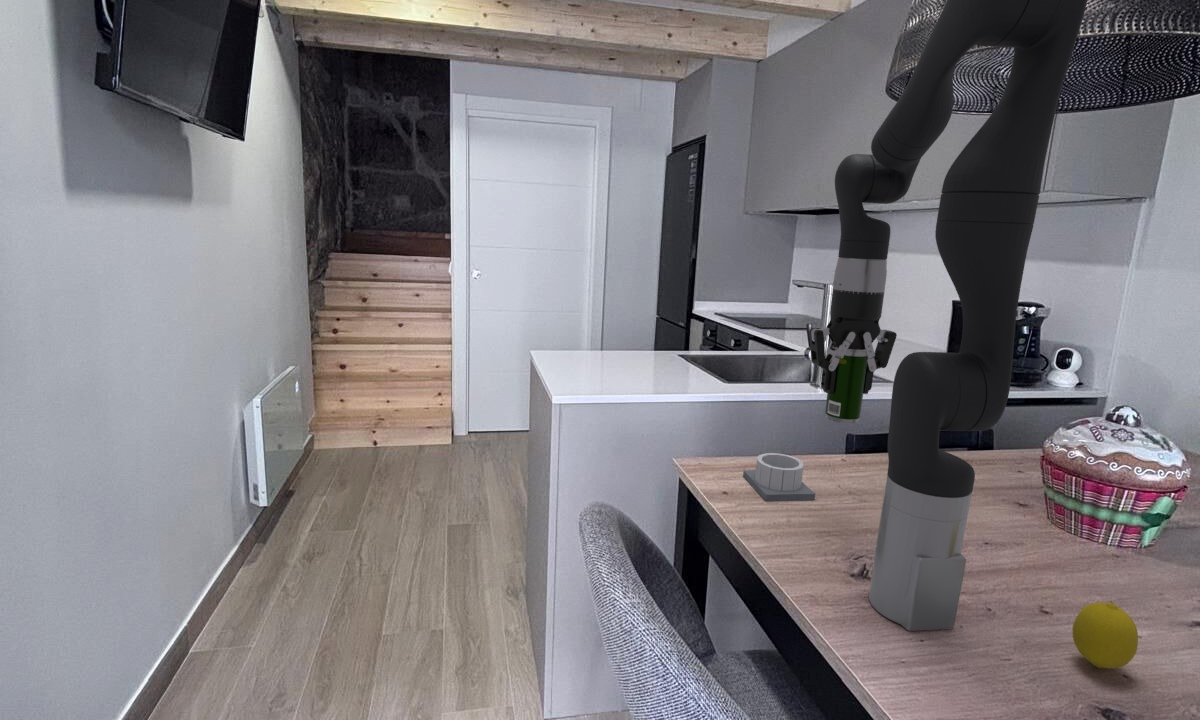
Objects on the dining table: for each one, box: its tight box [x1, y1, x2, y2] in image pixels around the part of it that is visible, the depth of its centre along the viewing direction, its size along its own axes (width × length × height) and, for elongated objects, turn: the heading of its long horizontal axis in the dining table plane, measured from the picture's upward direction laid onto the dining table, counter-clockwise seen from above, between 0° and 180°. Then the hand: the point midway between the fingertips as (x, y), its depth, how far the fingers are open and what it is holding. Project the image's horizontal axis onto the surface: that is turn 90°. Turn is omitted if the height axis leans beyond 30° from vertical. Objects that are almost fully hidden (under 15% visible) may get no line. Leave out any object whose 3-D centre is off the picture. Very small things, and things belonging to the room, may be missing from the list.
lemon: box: [1072, 601, 1139, 669], centre depth 68 cm, size 6×6×8 cm
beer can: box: [824, 347, 868, 424], centre depth 99 cm, size 5×5×12 cm
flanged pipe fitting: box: [742, 452, 816, 502], centre depth 113 cm, size 11×9×5 cm
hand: (845, 392), depth 99 cm, fingers closed on beer can, 5 cm apart
